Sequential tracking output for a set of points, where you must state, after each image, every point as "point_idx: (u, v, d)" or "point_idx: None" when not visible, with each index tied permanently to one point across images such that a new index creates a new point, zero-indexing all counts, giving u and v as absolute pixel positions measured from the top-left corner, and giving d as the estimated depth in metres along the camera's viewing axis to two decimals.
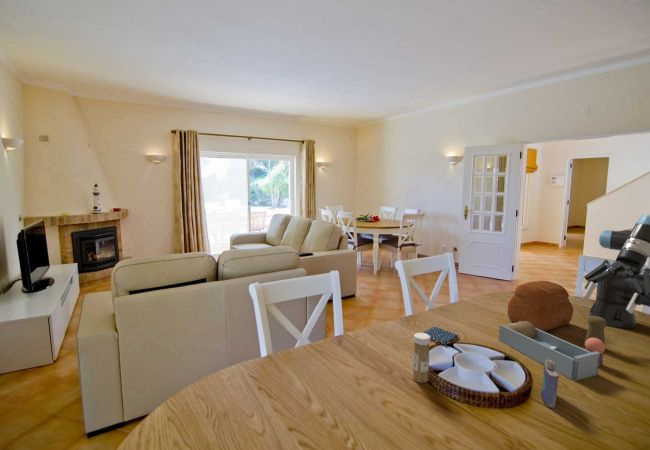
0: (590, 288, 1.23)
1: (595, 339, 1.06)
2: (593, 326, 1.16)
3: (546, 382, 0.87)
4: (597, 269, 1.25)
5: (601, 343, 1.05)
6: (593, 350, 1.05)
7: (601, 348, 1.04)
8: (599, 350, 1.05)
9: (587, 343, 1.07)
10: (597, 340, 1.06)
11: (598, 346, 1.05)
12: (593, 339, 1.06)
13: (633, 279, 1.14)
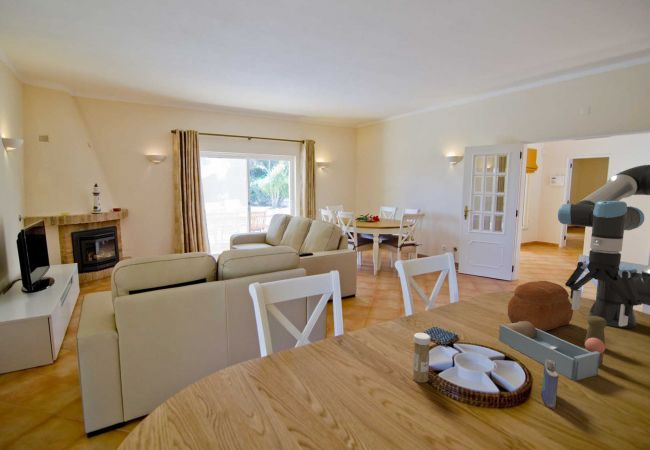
0: (576, 298, 1.11)
1: (595, 339, 1.06)
2: (593, 326, 1.16)
3: (546, 382, 0.87)
4: (574, 274, 1.11)
5: (601, 343, 1.05)
6: (593, 350, 1.05)
7: (601, 348, 1.04)
8: (599, 350, 1.05)
9: (587, 343, 1.07)
10: (597, 340, 1.06)
11: (598, 346, 1.05)
12: (593, 339, 1.06)
13: (614, 286, 1.00)
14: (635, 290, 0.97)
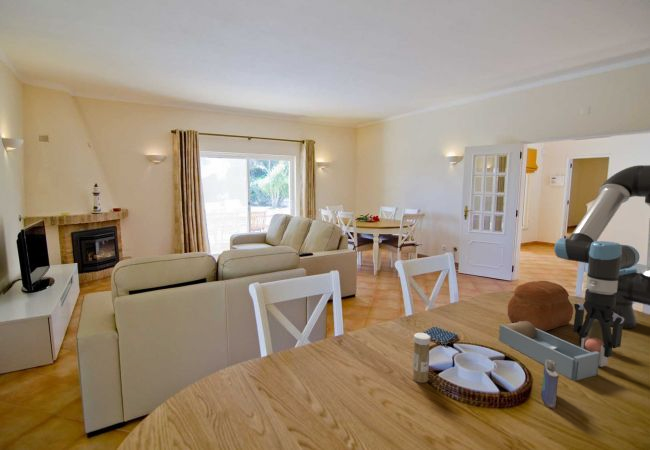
0: (584, 345, 1.09)
1: (595, 339, 1.06)
2: (593, 326, 1.16)
3: (546, 382, 0.87)
4: (577, 318, 1.11)
5: (601, 343, 1.05)
6: (593, 350, 1.05)
7: None
8: (599, 350, 1.05)
9: (587, 343, 1.07)
10: (597, 340, 1.06)
11: (598, 346, 1.05)
12: (593, 339, 1.06)
13: (602, 327, 1.04)
14: (620, 335, 1.01)
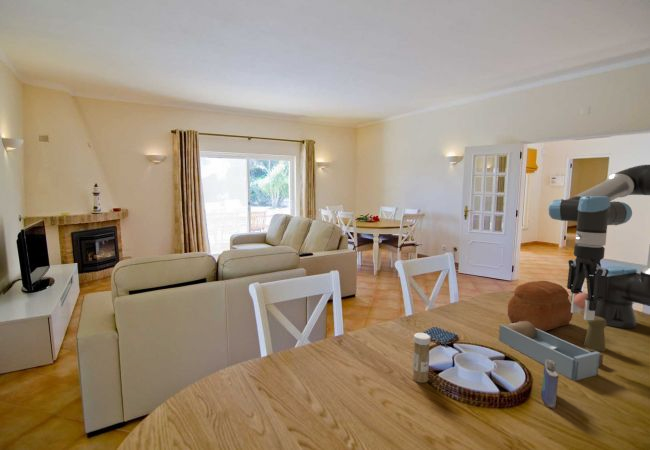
0: None
1: (583, 294, 1.07)
2: (593, 326, 1.16)
3: (546, 382, 0.87)
4: (570, 274, 1.12)
5: None
6: (579, 304, 1.06)
7: None
8: (584, 304, 1.05)
9: (575, 297, 1.08)
10: (585, 294, 1.06)
11: (584, 300, 1.05)
12: (581, 294, 1.07)
13: (587, 281, 1.04)
14: (603, 288, 1.00)
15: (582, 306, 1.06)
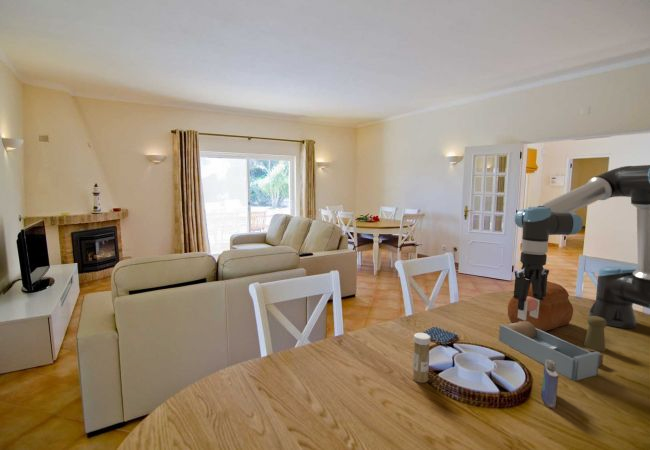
0: None
1: (527, 296, 1.16)
2: (593, 326, 1.16)
3: (546, 382, 0.87)
4: None
5: None
6: None
7: None
8: None
9: None
10: None
11: None
12: (527, 296, 1.17)
13: None
14: (519, 288, 1.13)
15: None
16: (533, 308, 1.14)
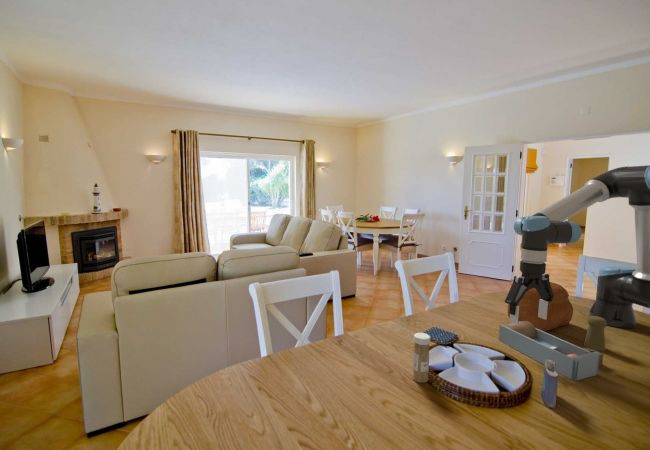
0: (540, 306, 1.19)
1: None
2: (593, 326, 1.16)
3: (546, 382, 0.87)
4: None
5: None
6: None
7: None
8: None
9: None
10: (574, 356, 1.02)
11: None
12: (575, 355, 1.02)
13: None
14: (513, 292, 1.12)
15: None
16: None
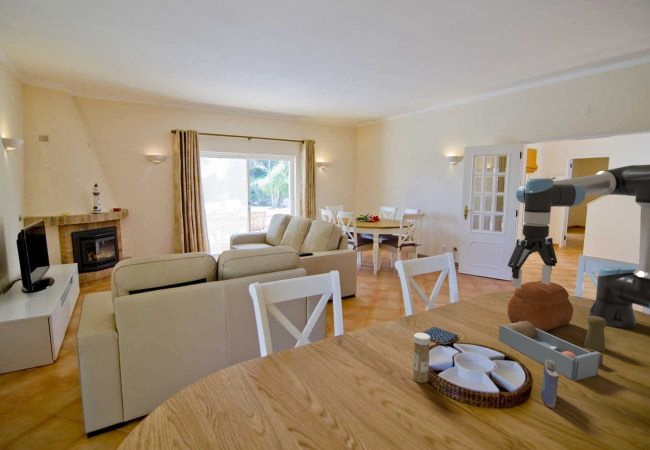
0: (543, 272, 1.18)
1: (564, 351, 1.05)
2: (593, 326, 1.16)
3: (546, 382, 0.87)
4: None
5: None
6: None
7: None
8: None
9: None
10: (563, 352, 1.05)
11: None
12: None
13: None
14: (516, 255, 1.10)
15: None
16: None
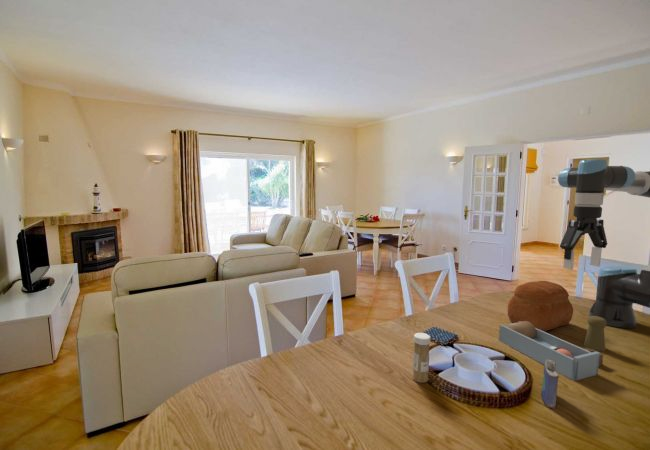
0: (593, 254, 1.18)
1: None
2: (593, 326, 1.16)
3: (546, 382, 0.87)
4: None
5: None
6: None
7: None
8: None
9: None
10: None
11: None
12: None
13: None
14: (569, 236, 1.11)
15: None
16: None
